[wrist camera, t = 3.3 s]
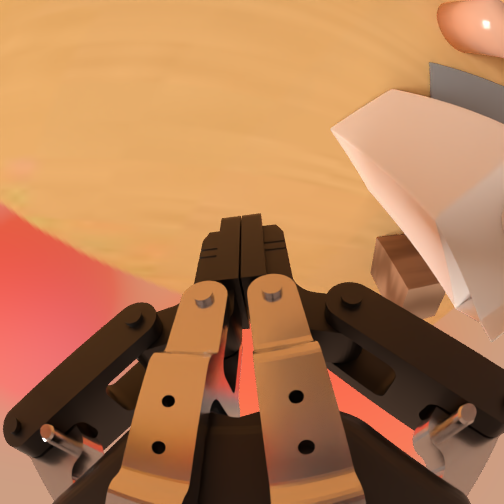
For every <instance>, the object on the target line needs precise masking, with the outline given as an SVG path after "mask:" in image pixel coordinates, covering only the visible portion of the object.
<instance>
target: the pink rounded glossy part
mask: <svg viewBox="0 0 504 504" xmlns="http://www.w3.org/2000/svg"><path fill="white" fill-rule="evenodd" d="M437 20H438V24H439V27H440V30H441V32H442V34H443V35H444V37H445V39H446V40H447V41H448V42H449V43H450V45H451V46H453V47H454V48H455V49H457V50H458V51H461V52H466V53H475V54H483V55H489V56H495V57H501V58H504V3H503V2H502V1H500V0H462V1H454V2H446V3H443V4H441V5H440V6H439V8H438V11H437Z"/></svg>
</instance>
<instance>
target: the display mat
mask: <svg viewBox="0 0 504 504" xmlns="http://www.w3.org/2000/svg"><path fill="white" fill-rule="evenodd" d="M429 66H430V98H433V99H437V100H440V101H443V102H447V103H450V104H453V105H456V106H459V107H462V108H465V109H468V110H471V111H473V112H476V113H479V114H481V115H484V116H486V117H489V118H491V119H493V120H496V121H498V122H500V123H502V124H504V86H501V85H499V84H496V83H494V82H491V81H489V80H486V79H484V78H481V77H478V76H475V75H473V74H470V73H467V72H463V71H460V70H457V69H454V68H450V67H447V66H443V65H439V64H435V63H431V62H429Z"/></svg>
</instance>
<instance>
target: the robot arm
mask: <svg viewBox="0 0 504 504" xmlns="http://www.w3.org/2000/svg"><path fill="white" fill-rule="evenodd" d="M249 319H250V323H251V330H252V338H253V346H254V351H253V360H254V368H255V377H256V385H257V393H258V401H259V408H260V412H256V413H253V414H250V415H246V416H242V417H240V408H239V400H238V394H239V383H240V372H241V361H242V350H243V347H242V329H249V328H250V324H249ZM135 359H137V360H138V361H139V362H138V363H137V364H136V365H135V366H133V367H132V368H131V369H130V370H129V371H128V372H127V373H126V374H125V375H124V376H122V377H121V378H120V379H119V380H118V381H117V382H116V383H115V384H113V385H108V384H109V383H110V382H111V381H112V380H113V379H114V378H115V377H117V376H118V375H119V374H120V373H121V372H122V371H123V370H124V369H125V368H126V367H128V366H129V365H130V364H131V363H132V362H133V361H134V360H135ZM327 369H329V370H330V371H332V372H333V373H334V374H335V375H337V376H338V377H339V378H341V379H342V380H343V381H345V382H346V383H348V384H349V385H350V386H351V387H353V388H354V389H356V390H357V391H358V392H360V393H361V394H362V395H364V396H365V397H367V398H368V399H369V400H371V401H372V402H374V403H375V404H376V405H378V406H379V407H381V408H382V409H384V410H385V411H386V412H388V413H389V414H391V415H392V416H394V417H395V418H396V419H398V420H400V421H401V422H402V423H404V424H405V425H407V426H408V427H410V428H411V429H413V430H414V435H413V446H414V449H415V451H416V452H417V454H418V455H420V456H421V457H422V458H423V460H424V461H425V463H426V467H427V468H426V467H424V466H423V465H421V464H420V463H419V462H417V461H416V460H415V459H413V458H411V457H410V456H409V455H408V454H406V453H405V452H403V451H402V450H401V449H399V448H398V447H397V446H395V445H394V444H393V443H391V442H390V441H389V440H387V439H386V438H385V437H383V436H382V435H381V434H380V433H378V432H377V431H375V430H374V429H373V428H372V427H371V426H369V425H368V424H367V423H365V422H364V421H362V420H360V419H359V418H357V417H354V416H352V415H350V414H347V413H344V412H341V411H339V409H338V406H337V402H336V399H335V395H334V391H333V388H332V384H331V381H330V377H329V374H328V371H327ZM130 426H131V428H130V430H129V431H128V432H127V433H126V434H125V435H123V437H122V438H120V439H119V440H118V441H117V442H116V443H115V444H114V445H113V446H112V447H111V448H110V449H109V450H108V451H107V452H106V453H105V454H104V452H103V450H105V448H107V447H108V446H109V445H110V444H111V443H112V442H113V441H114V440H115V439H117V438H118V437H119V436H120V435H121V434H122V433H123V432H124V431H125V430H126V429H128V428H129V427H130ZM3 432H4V437H5V439H6V441H7V443H8V444H9V445H10V446H12V447H14V448H15V449H17V450H19V451H21V452H23V453H25V454H27V455H28V456H29V457H30V458H31V459H32V461H33V463H34V465H35V467H36V469H37V471H38V473H39V475H40V477H41V479H42V481H43V483H44V484H45V486H46V488H47V490H48V491H49V493H50V495H51V496H52V498H53V500H54V503H53V504H471V503H470V501H469V499H468V498H467V495H468V494H469V492H470V490H471V489H472V487H473V485H474V484H475V482H476V480H477V479H478V477H479V475H480V474H481V472H482V470H483V468H484V466H485V464H486V462H487V461H488V458H489V457H490V454H491V453H492V450H493V448H494V446H495V444H496V442H497V439H498V437H499V436H500V435H501V434H502V433H504V369H502V368H501V367H499V366H498V365H496V364H495V363H493V362H491V361H490V360H488V359H487V358H485V357H483V356H482V355H480V354H479V353H477V352H475V351H474V350H472V349H470V348H469V347H467V346H466V345H464V344H462V343H461V342H459V341H458V340H456V339H454V338H453V337H450V336H449V335H447V334H446V333H444V332H443V331H441V330H439V329H438V328H436V327H434V326H433V325H431V324H429V323H428V322H426V321H424V320H423V319H421V318H419V317H417V316H416V315H414V314H412V313H411V312H409V311H407V310H405V309H404V308H402V307H400V306H399V305H397V304H395V303H393V302H392V301H390V300H388V299H386V298H385V297H383V296H381V295H379V294H378V293H376V292H374V291H372V290H371V289H369V288H367V287H365V286H363V285H361V284H358V283H353V282H345V283H341V284H338V285H336V286H334V287H332V288H331V289H330V290H329V292H328V293H327V294H324V293H316V292H310V291H307V290H305V289H303V288H301V287H300V286H298V285H297V284H296V283H295V281H294V280H293V277H292V273H291V268H290V263H289V258H288V253H287V249H286V243H285V238H284V234H283V231H282V230H281V229H280V228H279V227H278V226H277V225H267V226H262V219H261V213H260V214H252V215H244V216H242V219H241V216H237V217H229V218H222V220H221V227H220V231H219V232H212V233H209V235H208V236H207V237H206V238H205V239H204V241H203V244H202V248H201V253H200V259H199V262H198V267H197V272H196V277H195V282H194V285H192V286H191V287H189V288H188V289H187V290H186V291H185V292H184V294H183V295H182V297H181V301H180V304H178V305H176V306H173V307H170V308H167V309H164V310H161V311H158V312H156V310H155V309H154V307H153V306H152V305H150V304H148V303H135V304H132V305H130V306H128V307H126V308H125V309H124V310H123V311H121V312H120V313H119V314H118V315H116V316H115V317H114V318H113V319H112V320H110V321H109V322H108V323H107V324H106V325H104V326H103V327H102V328H101V329H100V330H99V331H97V332H96V333H95V334H94V335H93V336H92V337H90V338H89V339H88V340H87V341H86V342H85V343H84V344H82V345H81V346H80V347H79V348H78V349H77V350H75V351H74V352H73V353H72V354H71V355H70V356H69V357H67V358H66V359H65V360H64V361H63V362H62V363H61V364H60V365H59V366H58V367H56V368H55V369H54V370H53V371H52V372H51V373H50V374H49V375H47V376H46V377H45V378H44V379H43V380H42V381H41V382H40V383H39V384H38V385H37V386H36V387H35V388H33V389H32V390H31V391H30V392H29V393H28V394H27V395H26V396H25V397H24V398H23V399H22V400H21V401H20V402H19V403H17V405H15V406H14V407H13V408H12V409H11V410H10V411H9V412H8V414H7V415H6V418H5V420H4V425H3Z"/></svg>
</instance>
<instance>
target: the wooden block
mask: <svg viewBox="0 0 504 504" xmlns="http://www.w3.org/2000/svg"><path fill="white" fill-rule="evenodd" d="M371 275H372V277H373V279H374V281H375V283H376V285H377V287H378V289H379V291H380V293H381V295H382V296H383V297H385V298H386V299H388V300H390V301H392V302H393V303H395V304H397V305H399V306H400V307H402V308H404V309H405V310H407V311H409V312H411V313H412V314H414V315H416V316H417V317H419V318H421V319H424V318H428V317H432V316H435V314H436V312H437V310H438V308H439V305H440V303H441V301H442V299H443V297H444V294H445V290H444V289H443V287H442V286H441V284H440V283H439V281H438V280H437V278H436V277H435V275H434V274H433V272H432V271H431V269H430V268H429V266H428V265H427V263H426V262H425V261H424V259H423V258H422V256H421V255H420V254H419V252H418V251H417V249H416V248H415V247H414V245H413V244H412V243H411V241H410V240H409V239H408V237H407V236H406V235H405V234H400V235H391V236H383V237H377V238H376V245H375V251H374V257H373V262H372V268H371Z"/></svg>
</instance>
